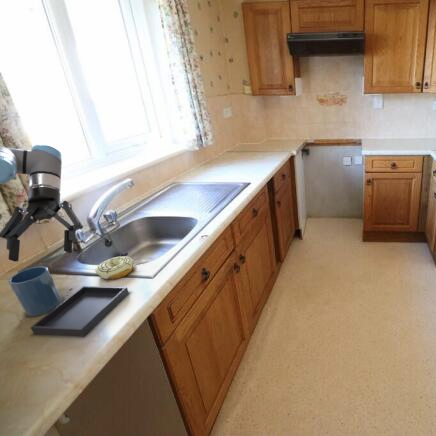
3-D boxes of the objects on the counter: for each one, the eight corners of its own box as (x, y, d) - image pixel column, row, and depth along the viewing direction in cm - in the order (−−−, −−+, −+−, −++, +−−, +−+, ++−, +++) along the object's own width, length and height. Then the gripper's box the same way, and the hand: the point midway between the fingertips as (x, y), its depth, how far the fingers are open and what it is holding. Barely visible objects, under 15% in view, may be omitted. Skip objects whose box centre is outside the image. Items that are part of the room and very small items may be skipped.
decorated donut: (104, 286, 100) (99, 276, 99) (95, 273, 107) (91, 263, 106) (139, 271, 107) (136, 261, 105) (129, 260, 114) (125, 250, 112)
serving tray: (85, 292, 98) (83, 285, 97) (129, 293, 96) (126, 287, 95) (33, 334, 82) (30, 327, 81) (84, 336, 81) (81, 329, 80)
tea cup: (27, 305, 93) (9, 273, 89) (62, 293, 98) (47, 263, 93) (25, 320, 87) (6, 287, 83) (62, 307, 92) (47, 275, 87)
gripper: (95, 191, 107) (95, 251, 101) (6, 201, 101) (-1, 267, 95) (83, 180, 100) (83, 244, 94) (-13, 191, 94) (-22, 260, 88)
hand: (41, 256), depth 94 cm, fingers open, 13 cm apart
